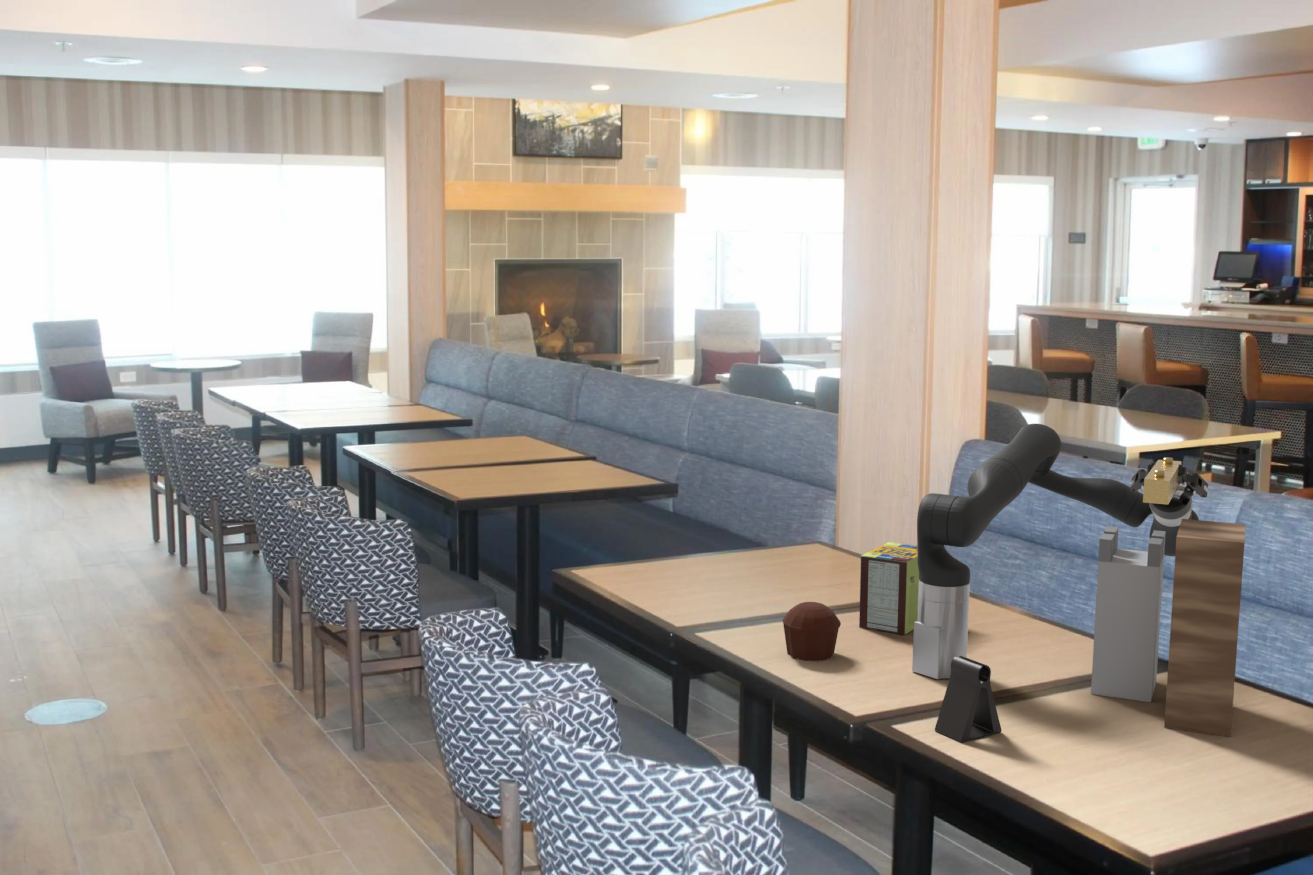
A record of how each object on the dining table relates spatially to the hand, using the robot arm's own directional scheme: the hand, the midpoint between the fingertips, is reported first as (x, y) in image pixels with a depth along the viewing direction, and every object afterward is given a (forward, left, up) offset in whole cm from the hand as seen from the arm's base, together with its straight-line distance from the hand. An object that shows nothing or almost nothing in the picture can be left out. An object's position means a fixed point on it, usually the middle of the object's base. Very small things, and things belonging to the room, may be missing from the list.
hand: (1166, 468), depth 234 cm
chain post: (-10, 0, -39) cm, 40 cm away
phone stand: (-50, +3, -39) cm, 63 cm away
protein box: (-11, +53, -39) cm, 67 cm away
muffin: (-41, +48, -39) cm, 74 cm away
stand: (-13, -16, -39) cm, 44 cm away
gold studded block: (-5, -3, -3) cm, 7 cm away
